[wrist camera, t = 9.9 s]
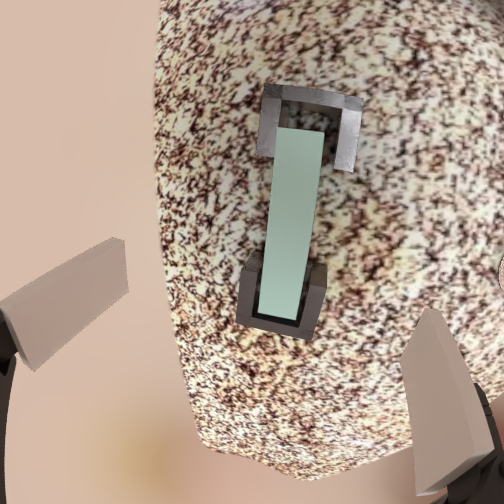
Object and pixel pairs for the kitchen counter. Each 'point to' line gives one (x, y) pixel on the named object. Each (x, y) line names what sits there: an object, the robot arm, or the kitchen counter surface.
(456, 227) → the kitchen counter surface
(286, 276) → the pale green rectangular block
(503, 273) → the can
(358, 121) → the cap
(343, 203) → the kitchen counter surface
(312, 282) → the cap
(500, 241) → the kitchen counter surface
